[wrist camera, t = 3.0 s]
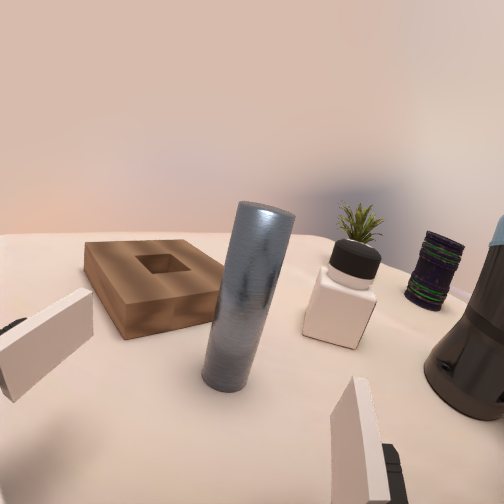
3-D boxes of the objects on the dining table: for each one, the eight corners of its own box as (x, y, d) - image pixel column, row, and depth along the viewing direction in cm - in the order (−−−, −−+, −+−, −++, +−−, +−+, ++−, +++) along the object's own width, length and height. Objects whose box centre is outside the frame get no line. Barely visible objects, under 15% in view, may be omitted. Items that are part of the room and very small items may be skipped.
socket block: (179, 263, 47) (183, 239, 46) (245, 313, 37) (252, 284, 36) (83, 270, 36) (85, 242, 35) (124, 339, 26) (125, 304, 24)
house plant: (319, 251, 78) (337, 191, 73) (368, 266, 75) (386, 207, 71) (316, 265, 65) (337, 193, 60) (374, 283, 62) (398, 213, 57)
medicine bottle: (355, 350, 34) (393, 260, 30) (301, 335, 35) (334, 241, 31) (351, 324, 40) (381, 246, 37) (305, 311, 41) (331, 230, 38)
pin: (227, 358, 27) (266, 203, 23) (255, 382, 25) (306, 218, 21) (192, 369, 25) (227, 199, 20) (221, 398, 22) (269, 216, 18)
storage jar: (438, 302, 60) (461, 243, 56) (442, 316, 52) (469, 249, 47) (403, 288, 64) (424, 229, 60) (403, 300, 56) (428, 232, 51)
